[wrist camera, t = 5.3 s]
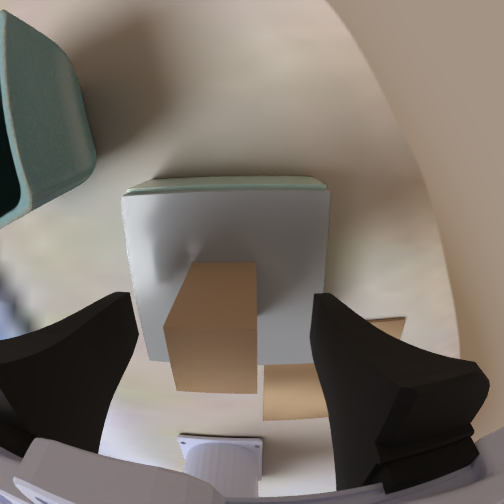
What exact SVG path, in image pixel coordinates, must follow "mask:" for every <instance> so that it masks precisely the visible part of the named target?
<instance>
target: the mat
mask: <svg viewBox="0 0 504 504" xmlns="http://www.w3.org/2000/svg"><path fill="white" fill-rule="evenodd" d="M368 322H369V323H371V324H372V325H374V326H376V327H377V328H379V329H380V330H382V331H384V332H385V333H387V334H389V335H391V336H393V337H395V338H397V339H399V340H400V337H401V333H402V330H403V326H404V323H405V319H404V318H394V319H383V320H370V321H368ZM321 417H329V415H328V410H327V406H326V401H325V398H324V395H323V391H322V388H321V385H320V381H319V378H318V375H317V371H316V368H315V365H314V363H305V364H278V365H264V404H263V421H268V420H294V419H309V418H321Z"/></svg>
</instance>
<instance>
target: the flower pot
mask: <svg viewBox="0 0 504 504" xmlns="http://www.w3.org/2000/svg"><path fill="white" fill-rule="evenodd" d="M95 165H96V150H95V146H94V142H93V139H92V135H91V131H90V127H89V124H88V120H87V116H86V111H85V107H84V102H83V98H82V93H81V89H80V86H79V82H78V79H77V76H76V73H75V70H74V68H73V66H72V64H71V62H70V60H69V59H68V57H67V55H66V54H65V53H64V51H63V50H62V49H61V48H60V47H59V46H58V45H57V44H56V43H55V42H53V41H52V40H51V39H49V38H48V37H46V36H45V35H44V34H42V33H41V32H39V31H37V30H36V29H34V28H33V27H31V26H30V25H28V24H27V23H25V22H24V21H22V20H20V19H19V18H17V17H16V16H14V15H12V14H10V13H9V12H7V11H6V10H1V11H0V229H1V228H3V227H5V226H6V225H8V224H10V223H12V222H13V221H15V220H17V219H19V218H21V217H23V216H24V215H26V214H28V213H29V212H31V211H33V210H35V209H36V208H38V207H40V206H42V205H44V204H45V203H47V202H49V201H51V200H53V199H54V198H56V197H58V196H60V195H62V194H64V193H66V192H68V191H70V190H72V189H73V188H75V187H77V186H79V185H80V184H82V183H83V182H84V181H85V180H87V179H88V178H89V176H90V175H91V174H92V172H93V170H94V168H95Z"/></svg>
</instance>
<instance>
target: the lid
mask: <svg viewBox="0 0 504 504" xmlns="http://www.w3.org/2000/svg"><path fill="white" fill-rule="evenodd" d="M330 196H331V192H330V191H328V190H327V189H294V188H240V189H199V190H174V191H155V192H139V193H127V194H125V195H123V196H121V207H122V216H123V224H124V232H125V240H126V247H127V253H128V260H129V266H130V272H131V278H132V283H133V288H134V294H135V299H136V304H137V309H138V313H139V318H140V322H141V327H142V331H143V335H144V340H145V344H146V348H147V352H148V356H149V359H150V360H151V361H163V362H170V363H171V368H172V372H173V377H174V381H175V385H176V389H177V391H189V392H205V393H234V394H257V365H278V364H305V363H314V361H313V357H312V351H311V344H310V338H309V337H310V328H311V318H312V309H313V299H314V293H323V289H324V279H325V268H326V257H327V244H328V231H329V215H330Z"/></svg>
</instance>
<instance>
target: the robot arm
mask: <svg viewBox="0 0 504 504" xmlns="http://www.w3.org/2000/svg"><path fill="white" fill-rule="evenodd" d="M138 336H139V333H138V328H137V324H136V320H135V315H134V311H133V306H132V302H131V297H130V292H115V293H112V294H110V295H108V296H106V297H104V298H102V299H100V300H98V301H96V302H94V303H93V304H91V305H89V306H87V307H85V308H84V309H82V310H80V311H78V312H76V313H74V314H72V315H70V316H68V317H66V318H65V319H63V320H61V321H59V322H56V323H54V324H52V325H50V326H47V327H45V328H42V329H40V330H37V331H34V332H31V333H27V334H24V335H21V336H18V337H14V338H9V339H5V340H0V504H504V427H502V428H500V429H498V430H497V431H495V432H493V433H490V434H488V435H486V436H484V437H482V438H481V439H479V440H478V441H477V442H475V443H474V442H473V440H472V438H471V437H470V436H472V435H473V434H474V429H473V427H472V425H471V424H470V423H471V422H472V420H473V419H474V417H475V416H476V414H477V413H478V411H479V410H480V408H481V406H482V405H483V403H484V401H485V399H486V397H487V395H488V391H489V387H490V384H489V380H488V378H487V377H486V375H485V374H484V373H483V372H482V370H481V369H480V368H479V366H478V365H477V364H476V363H475V362H472V361H466V360H461V359H455V358H450V357H446V356H442V355H439V354H435V353H432V352H429V351H426V350H423V349H420V348H418V347H415V346H413V345H410V344H408V343H405V342H403V341H401V340H399V339H397V338H395V337H393V336H391V335H389V334H387V333H385V332H384V331H382V330H380V329H379V328H377V327H376V326H374V325H372V324H371V323H369V322H368V321H366V320H365V319H364V318H362V317H361V316H359V315H358V314H357V313H355V312H354V311H353V310H351V309H350V308H349V307H347V306H346V305H345V304H344V303H342V302H341V301H340V300H339V299H337V298H336V297H335V296H333V295H332V294H330V293H314V299H313V309H312V318H311V328H310V337H309V338H310V344H311V351H312V357H313V361H314V365H315V368H316V371H317V375H318V378H319V381H320V385H321V388H322V391H323V395H324V398H325V401H326V406H327V410H328V415H329V422H330V428H331V435H332V443H333V451H334V461H335V472H336V489H337V491H334V492H327V493H319V494H310V495H299V496H285V497H258V481H260V480H261V474H262V446H263V441H262V440H261V439H259V438H219V437H202V436H189V435H179V436H178V438H177V440H178V443H179V446H180V448H181V451H182V454H183V457H184V459H185V467H184V473H182V472H178V471H173V470H169V469H165V468H161V467H156V466H150V465H144V464H139V463H134V462H129V461H124V460H120V459H116V458H111V457H107V456H103V455H100V454H98V451H99V445H100V440H101V435H102V431H103V427H104V423H105V419H106V416H107V413H108V409H109V406H110V403H111V400H112V398H113V395H114V393H115V391H116V389H117V386H118V384H119V382H120V380H121V378H122V376H123V374H124V372H125V370H126V368H127V366H128V363H129V361H130V359H131V357H132V355H133V352H134V349H135V346H136V343H137V339H138Z"/></svg>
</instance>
